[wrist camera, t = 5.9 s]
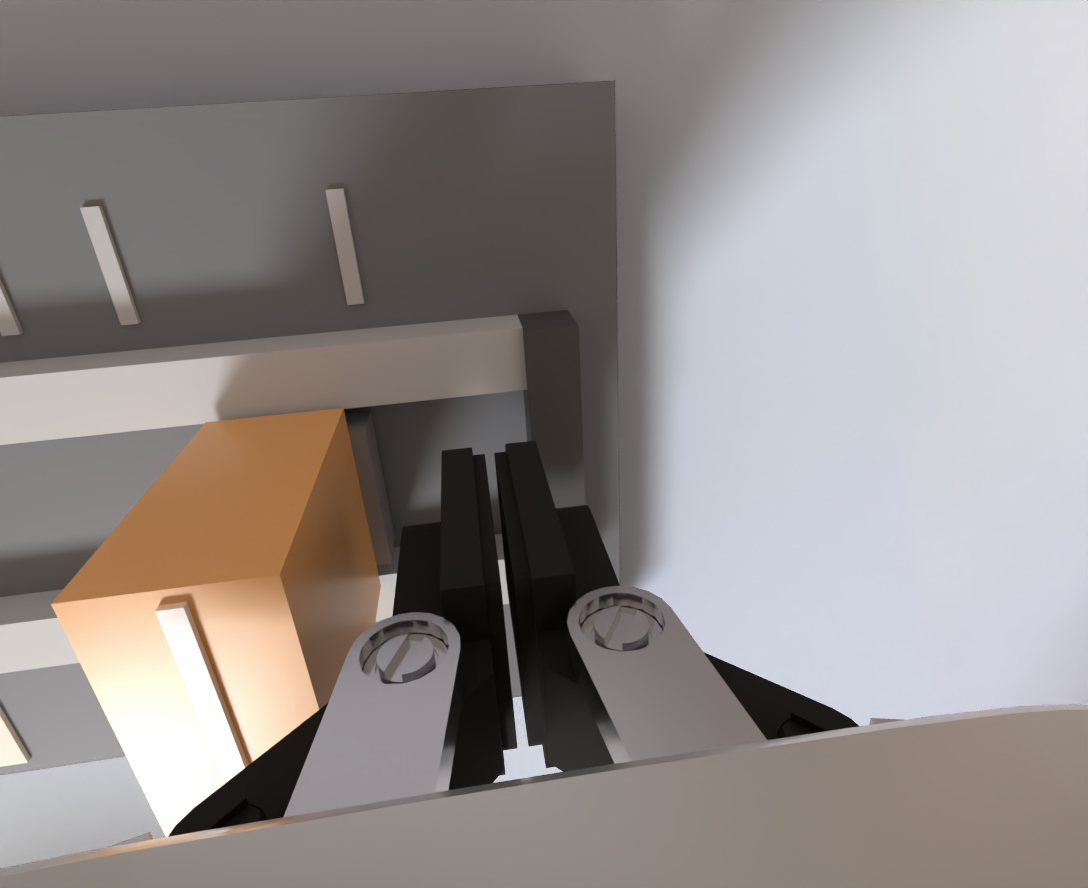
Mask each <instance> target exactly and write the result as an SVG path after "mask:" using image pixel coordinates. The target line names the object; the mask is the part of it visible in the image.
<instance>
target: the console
mask: <svg viewBox="0 0 1088 888" xmlns="http://www.w3.org/2000/svg"><path fill="white" fill-rule="evenodd" d="M337 408H344V412H345V413H354V412H363V411H371V414H372V419H373V424H374V429H375V435H376V440H377V445H378V450H379V456H380V461H381V466H382V471H383V477H384V482H385V487H386V492H387V498H388V503H389V508H390V513H391V518H392V524H393V529H394V534H395V541H394V548H393V556H392V564H385V565H378V566H377V569H378V574H379V579H380V584H381V588H380V595H379V601H378V608H377V615H376V622H375V624H376V623H378V622H380V621H381V620H383V619H386V618H389V617H392V615H393V606H394V597H395V588H396V579H397V570H398V561H399V552H400V543H401V534H402V528H403V527H404V526H410V525H418V524H427V523H435V522H441V453H442V450H451V449H461V448H470V447H472V451H473V455H479V454H485V460H486V468H487V476H488V484H489V492H490V500H491V508H492V516H493V524H494V532H495V540H496V548H497V556H498V564H499V572H500V580H501V589H502V599H503V609H504V619H505V629H506V639H507V649H508V659H509V669H510V679H511V689H512V698H513V697H519V696H522V694H521V687H520V679H519V672H518V665H517V657H516V650H515V643H514V636H513V628H512V621H511V614H510V606H509V599H508V591H507V583H506V573H505V563H504V552H503V541H502V531H501V520H500V510H499V499H498V488H497V478H496V467H495V456H494V453H498V452H506V451H505V444H508V443H517V442H527V441H536V444H537V448H538V451H539V454H540V458H541V461H542V464H543V468H544V471H545V474H546V478H547V481H548V484H549V488H550V491H551V494H552V498H553V501H554V504H555V508H564V507H573V506H581V505H588V506H589V508H590V510H591V513H592V515H593V518H594V520H595V523H596V525H597V528H598V530H599V533H600V536H601V538H602V541H603V543H604V546H605V548H606V551H607V553H608V556H609V559H610V561H611V564H612V566H613V569H614V571H615V574H616V576H617V579H618V582H619V584H620V548H619V448H618V348H617V247H616V147H615V81H601V82H584V83H567V84H550V85H533V86H515V87H498V88H481V89H464V90H447V91H430V92H412V93H395V94H378V95H361V96H344V97H327V98H309V99H292V100H275V101H258V102H241V103H224V104H206V105H189V106H172V107H155V108H138V109H121V110H103V111H86V112H69V113H52V114H35V115H18V116H0V775H6V774H12V773H19V772H26V771H32V770H39V769H45V768H52V767H58V766H65V765H72V764H78V763H85V762H91V761H98V760H105V759H111V758H118V757H124V756H126V755H125V753H124V751H123V749H122V747H121V745H120V743H119V741H118V739H117V737H116V735H115V733H114V731H113V729H112V727H111V725H110V723H109V721H108V719H107V717H106V715H105V713H104V711H103V709H102V707H101V704H100V702H99V700H98V698H97V696H96V694H95V692H94V690H93V688H92V686H91V684H90V682H89V680H88V678H87V676H86V674H85V672H84V670H83V668H82V666H81V664H80V662H79V660H78V658H77V656H76V654H75V652H74V650H73V648H72V646H71V644H70V642H69V640H68V638H67V636H66V634H65V632H64V630H63V628H62V626H61V624H60V622H59V620H58V618H57V616H56V614H55V612H54V610H53V608H52V606H51V603H52V602H53V601H54V600H55V599H56V597H57V596H58V595H59V594H60V593H61V592H62V590H63V589H64V588H65V587H66V586H67V585H68V583H69V582H70V581H71V580H72V579H73V578H74V576H75V575H76V574H77V573H78V572H79V570H80V569H81V568H82V567H83V566H84V565H85V563H86V562H87V561H88V560H89V559H90V558H91V556H92V555H93V554H94V553H95V552H96V550H97V549H98V548H99V547H100V546H101V545H102V543H103V542H104V541H105V540H106V539H107V538H108V536H109V535H110V534H111V533H112V532H113V531H114V529H115V528H116V527H117V526H118V525H119V523H120V522H121V521H122V520H123V519H124V518H125V516H126V515H127V514H128V513H129V512H130V511H131V509H132V508H133V507H134V506H135V505H136V504H137V502H138V501H139V500H140V499H141V498H142V496H143V495H144V494H145V493H146V492H147V491H148V489H149V488H150V487H151V486H152V485H153V484H154V482H155V481H156V480H157V479H158V478H159V477H160V475H161V474H162V473H163V472H164V471H165V469H166V468H167V467H168V466H169V465H170V464H171V462H172V461H173V460H174V459H175V458H176V457H177V455H178V454H179V453H180V452H181V451H182V449H183V448H184V447H185V446H186V445H187V444H188V442H189V441H190V440H191V439H192V438H193V437H194V435H195V434H196V433H197V432H198V431H199V430H200V428H201V427H202V426H203V425H204V424H205V422H213V421H222V420H232V419H241V418H251V417H260V416H270V415H279V414H289V413H299V412H308V411H318V410H327V409H337Z"/></svg>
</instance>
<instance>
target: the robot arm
mask: <svg viewBox="0 0 1088 888" xmlns="http://www.w3.org/2000/svg"><path fill="white" fill-rule="evenodd" d="M505 451H506V452H498V453H494V456H495V467H496V478H497V488H498V499H499V510H500V520H501V531H502V541H503V552H504V563H505V573H506V583H507V591H508V599H509V606H510V614H511V621H512V628H513V636H514V643H515V650H516V657H517V665H518V672H519V679H520V687H521V694H522V701H523V708H524V716H525V723H526V730H527V737H528V744H529V746H534V745H541V744H542V745H543V751H544V758H545V764H546V768H549V767H557V768H558V769H560V770H562V771H563V772H560V773H554V774H548V775H541V776H535V777H529V778H522V779H516V780H510V781H504V782H497V783H493V782H494V781H495V779H496V778H497V777H498V776H499V775H505V767H504V756H503V750H508V749H515V748H517V740H516V730H515V720H514V710H513V699H512V689H511V679H510V669H509V659H508V649H507V639H506V629H505V619H504V609H503V599H502V589H501V580H500V572H499V564H498V556H497V548H496V540H495V532H494V524H493V516H492V508H491V500H490V492H489V484H488V476H487V468H486V460H485V454H479V455H473V451H472V447H470V448H461V449H451V450H442V453H441V522H435V523H427V524H418V525H410V526H404V527H403V528H402V534H401V543H400V552H399V561H398V570H397V579H396V588H395V597H394V606H393V615H392V617H389V618H386V619H383V620H381V621H380V622H378V623H376V624H374V625H373V626H371V627H369V628H368V629H366V630H365V631H364V632H363V633H362V634H361V635H360V636H359V637H358V638H357V639H356V640H355V642H354V643H353V645H352V647H351V648H350V650H349V652H348V654H347V657H346V659H345V662H344V664H343V667H342V669H341V672H340V675H339V677H338V680H337V682H336V685H335V687H334V690H333V692H332V695H331V697H330V700H329V702H328V703H327V704H326V705H325V706H323V707H322V708H321V709H319V710H318V711H317V712H316V713H314V714H313V715H312V716H311V717H309V718H308V719H307V720H305V721H304V722H303V723H302V724H300V725H299V726H298V727H297V728H295V729H294V730H293V731H291V732H290V733H289V734H288V735H286V736H285V737H284V738H282V739H281V740H280V741H279V742H277V743H276V744H275V745H274V746H272V747H271V748H270V749H268V750H267V751H266V752H265V753H263V754H262V755H261V756H260V757H258V758H257V759H256V760H254V761H253V762H252V763H251V764H249V765H248V766H247V767H245V768H244V769H243V770H242V771H240V772H239V773H238V774H237V775H235V776H234V777H233V778H231V779H230V780H229V781H228V782H226V783H225V784H224V785H222V786H221V787H220V788H219V789H217V790H216V791H215V792H214V793H212V794H211V795H210V796H208V797H207V798H206V799H205V800H203V801H202V802H201V803H200V804H198V805H197V806H196V807H194V808H193V809H192V810H191V811H190V812H189V813H188V814H187V815H186V816H185V817H184V818H183V819H182V820H181V821H180V822H179V823H178V824H177V825H176V826H175V827H174V829H173V830H172V831H171V833H170V834H169V836H168V837H164V838H159V839H153V838H152V836H151V834H150V832H149V833H146V834H143V835H141V836H138V837H135V838H132V839H129V840H126V841H124V842H121V843H118V844H115V845H112V846H109V847H106V848H101V849H96V850H91V851H86V852H81V853H76V854H71V855H66V856H61V857H56V858H51V859H46V860H41V861H36V862H31V863H27V864H22V865H17V866H12V867H7V868H2V869H0V888H1088V705H1077V704H1069V705H1041V706H1018V707H1009V708H1000V709H991V710H982V711H973V712H964V713H955V714H946V715H937V716H929V717H921V718H915V719H908V720H901V719H880V718H871V720H870V724H869V725H867V726H858V725H857V724H856V723H855V722H854V721H853V720H852V719H850V718H849V717H847V716H845V715H843V714H842V713H840V712H838V711H836V710H834V709H833V708H831V707H828V706H826V705H824V704H821V703H819V702H817V701H814V700H812V699H810V698H808V697H805V696H803V695H801V694H798V693H796V692H794V691H791V690H789V689H787V688H785V687H782V686H780V685H778V684H775V683H773V682H771V681H768V680H766V679H764V678H762V677H759V676H757V675H755V674H752V673H750V672H748V671H745V670H743V669H741V668H739V667H736V666H734V665H732V664H729V663H727V662H725V661H722V660H720V659H718V658H716V657H713V656H711V655H709V654H706V653H704V652H703V651H702V650H701V648H700V647H699V646H698V644H697V643H696V641H695V640H694V639H693V637H692V636H691V635H690V633H689V632H688V630H687V629H686V628H685V626H684V625H683V624H682V622H681V621H680V619H679V618H678V617H677V615H676V614H675V613H674V611H673V610H672V608H671V607H670V606H669V605H668V604H667V603H666V602H665V601H664V600H663V599H662V598H660V597H658V596H656V595H654V594H652V593H651V592H649V591H646V590H642V589H639V588H635V587H627V586H620V584H619V582H618V579H617V576H616V574H615V571H614V569H613V566H612V564H611V561H610V559H609V556H608V553H607V551H606V548H605V546H604V543H603V541H602V538H601V536H600V533H599V530H598V528H597V525H596V523H595V520H594V518H593V515H592V513H591V510H590V508H589V506H588V505H581V506H573V507H564V508H555V504H554V501H553V498H552V494H551V491H550V488H549V484H548V481H547V478H546V474H545V471H544V468H543V464H542V461H541V458H540V454H539V451H538V448H537V444H536V441H527V442H517V443H508V444H505Z"/></svg>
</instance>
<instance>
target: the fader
mask: <svg viewBox="0 0 1088 888" xmlns="http://www.w3.org/2000/svg"><path fill="white" fill-rule="evenodd" d="M394 541H395V534H394V529H393V524H392V518H391V513H390V508H389V503H388V498H387V492H386V487H385V482H384V477H383V471H382V466H381V461H380V456H379V450H378V445H377V440H376V435H375V429H374V424H373V419H372V414H371V411H363V412H354V413H345V412H344V408H337V409H327V410H318V411H308V412H299V413H289V414H279V415H270V416H260V417H251V418H241V419H232V420H222V421H213V422H205V424H204V425H203V426H202V427H201V428H200V430H199V431H198V432H197V433H196V434H195V435H194V437H193V438H192V439H191V440H190V441H189V442H188V444H187V445H186V446H185V447H184V448H183V449H182V451H181V452H180V453H179V454H178V455H177V457H176V458H175V459H174V460H173V461H172V462H171V464H170V465H169V466H168V467H167V468H166V469H165V471H164V472H163V473H162V474H161V475H160V477H159V478H158V479H157V480H156V481H155V482H154V484H153V485H152V486H151V487H150V488H149V489H148V491H147V492H146V493H145V494H144V495H143V496H142V498H141V499H140V500H139V501H138V502H137V504H136V505H135V506H134V507H133V508H132V509H131V511H130V512H129V513H128V514H127V515H126V516H125V518H124V519H123V520H122V521H121V522H120V523H119V525H118V526H117V527H116V528H115V529H114V531H113V532H112V533H111V534H110V535H109V536H108V538H107V539H106V540H105V541H104V542H103V543H102V545H101V546H100V547H99V548H98V549H97V550H96V552H95V553H94V554H93V555H92V556H91V558H90V559H89V560H88V561H87V562H86V563H85V565H84V566H83V567H82V568H81V569H80V570H79V572H78V573H77V574H76V575H75V576H74V578H73V579H72V580H71V581H70V582H69V583H68V585H67V586H66V587H65V588H64V589H63V590H62V592H61V593H60V594H59V595H58V596H57V597H56V599H55V600H54V601H53V602H52V603H51V606H52V608H53V610H54V612H55V614H56V616H57V618H58V620H59V622H60V624H61V626H62V628H63V630H64V632H65V634H66V636H67V638H68V640H69V642H70V644H71V646H72V648H73V650H74V652H75V654H76V656H77V658H78V660H79V662H80V664H81V666H82V668H83V670H84V672H85V674H86V676H87V678H88V680H89V682H90V684H91V686H92V688H93V690H94V692H95V694H96V696H97V698H98V700H99V702H100V704H101V707H102V709H103V711H104V713H105V715H106V717H107V719H108V721H109V723H110V725H111V727H112V729H113V731H114V733H115V735H116V737H117V739H118V741H119V743H120V745H121V747H122V749H123V751H124V753H125V755H126V757H127V759H128V761H129V763H130V765H131V767H132V769H133V771H134V773H135V775H136V777H137V779H138V781H139V783H140V785H141V787H142V789H143V791H144V793H145V795H146V797H147V799H148V801H149V803H150V805H151V808H152V810H153V812H154V814H155V816H156V818H157V820H158V822H159V824H160V826H161V828H162V830H163V832H164V834H165V836H166V837H168V836H169V834H170V833H171V831H172V830H173V829H174V827H175V826H176V825H177V824H178V823H179V822H180V821H181V820H182V819H183V818H184V817H185V816H186V815H187V814H188V813H189V812H190V811H191V810H192V809H193V808H194V807H196V806H197V805H198V804H200V803H201V802H202V801H203V800H205V799H206V798H207V797H208V796H210V795H211V794H212V793H214V792H215V791H216V790H217V789H219V788H220V787H221V786H222V785H224V784H225V783H226V782H228V781H229V780H230V779H231V778H233V777H234V776H235V775H237V774H238V773H239V772H240V771H242V770H243V769H244V768H245V767H247V766H248V765H249V764H251V763H252V762H253V761H254V760H256V759H257V758H258V757H260V756H261V755H262V754H263V753H265V752H266V751H267V750H268V749H270V748H271V747H272V746H274V745H275V744H276V743H277V742H279V741H280V740H281V739H282V738H284V737H285V736H286V735H288V734H289V733H290V732H291V731H293V730H294V729H295V728H297V727H298V726H299V725H300V724H302V723H303V722H304V721H305V720H307V719H308V718H309V717H311V716H312V715H313V714H314V713H316V712H317V711H318V710H319V709H321V708H322V707H323V706H325V705H326V704H327V703H328V702H329V700H330V697H331V695H332V692H333V690H334V687H335V685H336V682H337V680H338V677H339V675H340V672H341V669H342V667H343V664H344V662H345V659H346V657H347V654H348V652H349V650H350V648H351V647H352V645H353V643H354V642H355V640H356V639H357V638H358V637H359V636H360V635H361V634H362V633H363V632H364V631H365V630H366V629H368V628H369V627H371V626H373V625H374V624H375V622H376V615H377V608H378V601H379V595H380V588H381V584H380V579H379V574H378V569H377V566H378V565H385V564H392V556H393V548H394Z"/></svg>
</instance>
